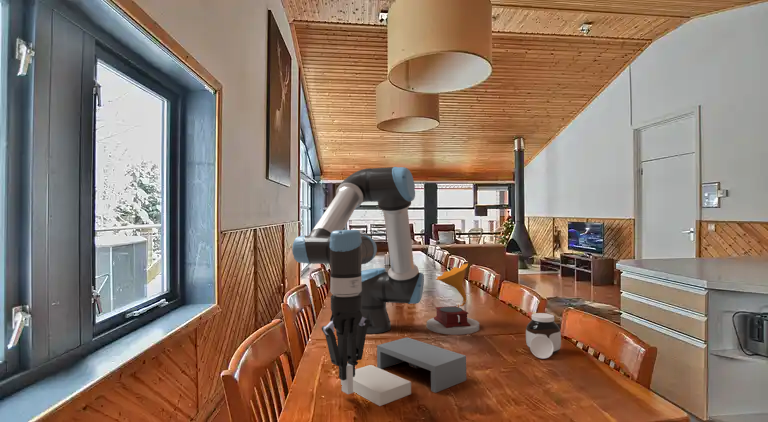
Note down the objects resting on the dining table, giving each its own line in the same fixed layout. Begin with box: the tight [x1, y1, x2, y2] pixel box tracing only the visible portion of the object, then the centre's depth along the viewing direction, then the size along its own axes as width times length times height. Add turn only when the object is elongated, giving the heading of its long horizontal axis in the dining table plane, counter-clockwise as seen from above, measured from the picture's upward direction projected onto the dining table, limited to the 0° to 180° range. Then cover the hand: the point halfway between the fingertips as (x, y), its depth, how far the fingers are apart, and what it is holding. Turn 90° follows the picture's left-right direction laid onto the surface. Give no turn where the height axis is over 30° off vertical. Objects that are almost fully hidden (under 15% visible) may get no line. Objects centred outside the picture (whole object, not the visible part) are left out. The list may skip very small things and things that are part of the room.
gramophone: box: [426, 263, 480, 336], centre depth 165 cm, size 20×20×25 cm
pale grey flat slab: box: [340, 364, 412, 407], centre depth 106 cm, size 16×10×3 cm, turn 40°
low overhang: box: [376, 337, 467, 394], centre depth 117 cm, size 23×12×6 cm, turn 40°
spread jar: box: [525, 312, 562, 360], centre depth 132 cm, size 12×11×12 cm
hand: (347, 391), depth 101 cm, fingers closed
